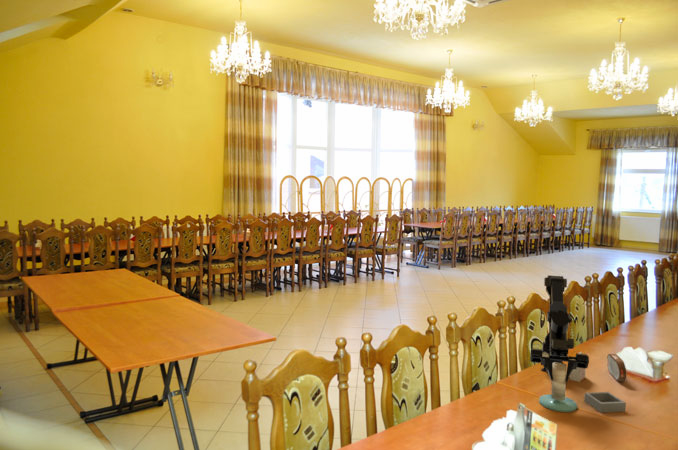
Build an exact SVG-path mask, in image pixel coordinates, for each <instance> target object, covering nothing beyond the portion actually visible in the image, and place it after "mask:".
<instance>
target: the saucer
mask: <svg viewBox="0 0 678 450" xmlns="http://www.w3.org/2000/svg"><path fill="white" fill-rule="evenodd" d="M538 399H539V400H538V403H539V404H540V405H541V406H542V407H543V408H546V409H548V410H551V411H554V412H558V413H559V412H560V413H561V412H562V413H571V412H575V411H576V410H577V408H578V403H577V402H576V401H575V400H574V399H572V398H570V397H567V396H565V400H564V401H558V400H554V399H552V398H551V394H542V395H540V396H539V398H538Z"/></svg>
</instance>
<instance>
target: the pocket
mask: <svg viewBox="0 0 678 450" xmlns="http://www.w3.org/2000/svg"><path fill="white" fill-rule="evenodd" d="M583 402H585V403H586V404H588V405H589V406H590V407H592V408H593V407H594V409H595V410H596V411H598V412H599V413H616V412H618V413H619V412H626V407H627V406H626V405H627V404H626V402H625V401H624V400H623V399H620V398H619V397H617V396H616V395H614V394H612V393H611V392H609V391H599V392H597V391H596V392H595V391H594V392H584V401H583Z"/></svg>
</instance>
